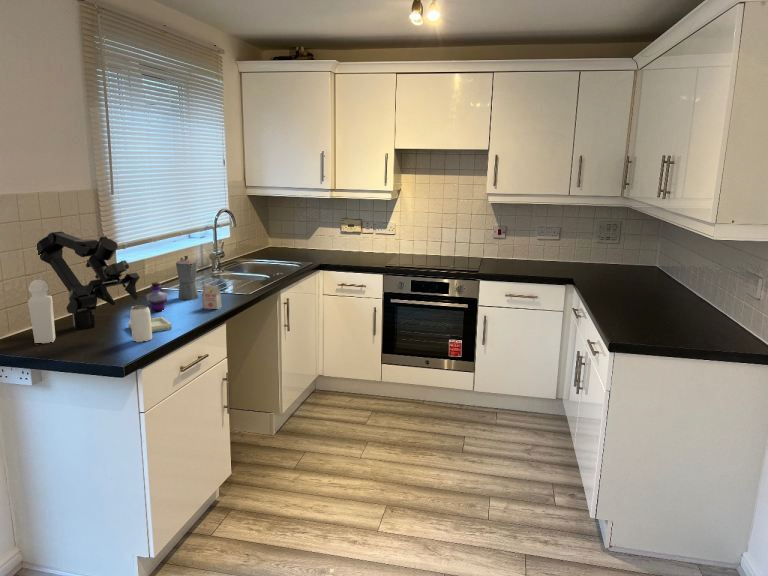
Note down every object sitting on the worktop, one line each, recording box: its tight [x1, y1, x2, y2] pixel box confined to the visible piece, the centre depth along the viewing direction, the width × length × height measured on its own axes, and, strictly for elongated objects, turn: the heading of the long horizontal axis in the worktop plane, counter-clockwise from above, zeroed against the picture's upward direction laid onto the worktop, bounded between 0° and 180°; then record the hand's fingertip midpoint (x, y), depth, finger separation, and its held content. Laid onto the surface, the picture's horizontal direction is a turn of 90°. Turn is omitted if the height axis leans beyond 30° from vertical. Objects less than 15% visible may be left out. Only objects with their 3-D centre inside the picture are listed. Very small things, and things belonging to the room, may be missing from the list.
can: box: [129, 304, 153, 343], centre depth 199 cm, size 6×6×12 cm
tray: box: [128, 316, 173, 333], centre depth 215 cm, size 12×12×2 cm
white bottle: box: [27, 279, 56, 344], centre depth 196 cm, size 6×6×22 cm
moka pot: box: [175, 255, 200, 301], centre depth 262 cm, size 10×15×20 cm, turn 41°
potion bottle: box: [145, 281, 169, 312], centre depth 240 cm, size 9×9×12 cm
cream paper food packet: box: [201, 284, 223, 310], centre depth 244 cm, size 4×7×10 cm, turn 75°
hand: (125, 301), depth 201 cm, fingers open, 9 cm apart
